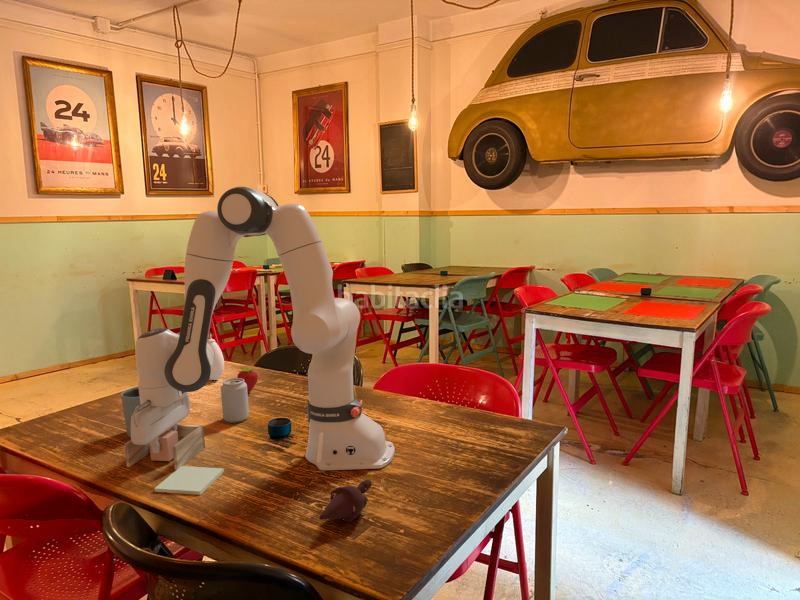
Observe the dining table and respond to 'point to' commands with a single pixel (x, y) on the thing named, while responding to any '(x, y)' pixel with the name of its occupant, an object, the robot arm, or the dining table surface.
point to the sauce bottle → (216, 361)
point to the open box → (182, 451)
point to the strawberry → (248, 378)
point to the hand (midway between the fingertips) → (164, 446)
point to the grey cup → (130, 405)
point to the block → (165, 446)
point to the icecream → (346, 502)
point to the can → (234, 400)
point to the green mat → (189, 480)
